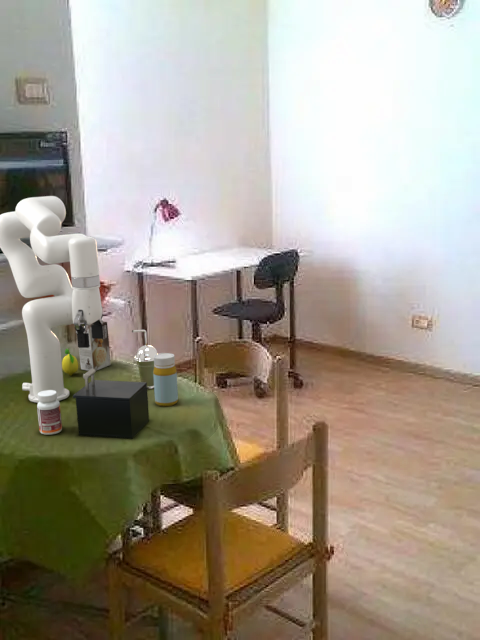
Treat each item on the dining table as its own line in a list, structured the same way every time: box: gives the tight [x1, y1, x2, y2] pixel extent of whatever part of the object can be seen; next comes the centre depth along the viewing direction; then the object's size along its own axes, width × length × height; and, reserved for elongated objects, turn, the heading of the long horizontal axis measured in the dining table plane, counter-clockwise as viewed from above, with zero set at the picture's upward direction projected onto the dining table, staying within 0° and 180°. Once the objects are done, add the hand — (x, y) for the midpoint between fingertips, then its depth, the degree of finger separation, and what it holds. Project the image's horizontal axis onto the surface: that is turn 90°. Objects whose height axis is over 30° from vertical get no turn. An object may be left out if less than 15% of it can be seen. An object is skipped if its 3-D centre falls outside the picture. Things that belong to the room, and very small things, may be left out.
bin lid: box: [72, 369, 147, 401], centre depth 215 cm, size 16×14×6 cm
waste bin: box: [75, 385, 150, 440], centre depth 217 cm, size 16×14×11 cm
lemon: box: [61, 347, 79, 376], centre depth 266 cm, size 7×6×10 cm
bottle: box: [153, 352, 179, 407], centre depth 235 cm, size 7×7×15 cm
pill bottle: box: [36, 390, 63, 436], centre depth 216 cm, size 6×6×11 cm
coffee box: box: [78, 320, 112, 372], centre depth 274 cm, size 9×6×16 cm
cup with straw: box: [131, 329, 159, 390], centre depth 250 cm, size 8×9×20 cm
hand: (91, 342), depth 216 cm, fingers open, 9 cm apart
